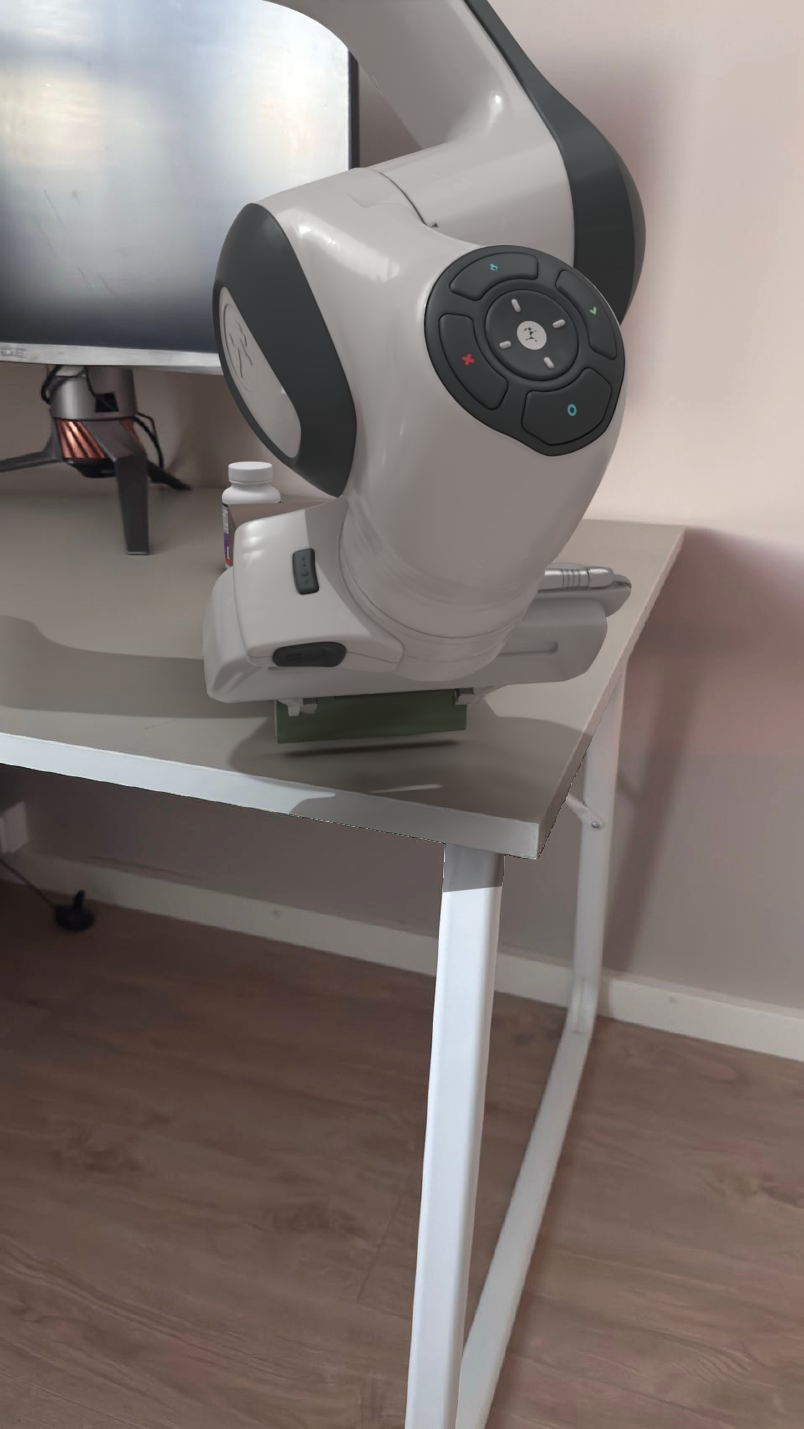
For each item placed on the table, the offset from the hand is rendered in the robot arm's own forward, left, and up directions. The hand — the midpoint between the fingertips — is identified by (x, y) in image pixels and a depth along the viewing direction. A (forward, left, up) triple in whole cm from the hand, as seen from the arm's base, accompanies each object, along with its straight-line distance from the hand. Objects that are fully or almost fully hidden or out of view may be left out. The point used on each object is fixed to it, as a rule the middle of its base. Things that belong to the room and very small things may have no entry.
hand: (382, 698), depth 61 cm
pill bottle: (-3, +44, -5) cm, 44 cm away
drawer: (0, +7, -4) cm, 8 cm away
